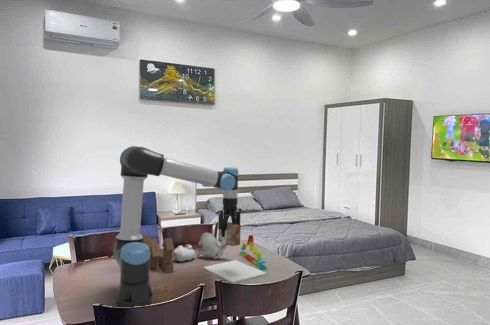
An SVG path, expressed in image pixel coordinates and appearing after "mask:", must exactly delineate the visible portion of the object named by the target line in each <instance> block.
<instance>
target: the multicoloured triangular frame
mask: <svg viewBox="0 0 490 325" xmlns="http://www.w3.org/2000/svg"><path fill="white" fill-rule="evenodd" d="M254 243H255V242H254V234H252V235H248V237H247V242H243V243H242V247H239V249H240V250H241V251H239V255H240V256H241V257H242V258H244V259H246V260H247V262H249V263H251V264H252V265H253V266H255V267H256V268H257V269H258V270H260V271H265V270H267V266H266V265H264V264H265V263H266V261H264V260H262V254H261V252H260V251H258V248H257V246H256V247H255V244H254ZM247 246H249V251H250V252H252V253H253V255H256V258H255V257H253V256H252V255H250V254H248V253H247V252H246V251H245V250H246V249H247Z"/></svg>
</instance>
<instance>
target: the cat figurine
mask: <svg viewBox="0 0 490 325" xmlns="http://www.w3.org/2000/svg"><path fill="white" fill-rule="evenodd" d="M195 256H196V251H195V250H194V249H193V246H192V244H184V246H183V245H178V247H175V248H174V250H173V251H172V259H174V260H176V261H178V262H180V263H181V262H182V263H183V262H186V261H191V260H192V259H194V258H195Z"/></svg>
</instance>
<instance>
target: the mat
mask: <svg viewBox="0 0 490 325" xmlns="http://www.w3.org/2000/svg"><path fill="white" fill-rule="evenodd" d="M202 269H204V270H206V271H207V272H210V273H211V274H213V275H215V276H218V277H219V278H221V279H223V280H225V281H227V282H229V283H231V284H237V283H240V282H243V281H247V280H251V279H254V278H258V277H264V276H266V275H267V272H264V270H260V269H259V268H255V267H253V266H250V265H249V264H247V263H243V262H242V261H241V262H240V261H238V260H237V259H235V260H230V261H226V262H220V263H217V264H212V265H207V266H203V268H202Z"/></svg>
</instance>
